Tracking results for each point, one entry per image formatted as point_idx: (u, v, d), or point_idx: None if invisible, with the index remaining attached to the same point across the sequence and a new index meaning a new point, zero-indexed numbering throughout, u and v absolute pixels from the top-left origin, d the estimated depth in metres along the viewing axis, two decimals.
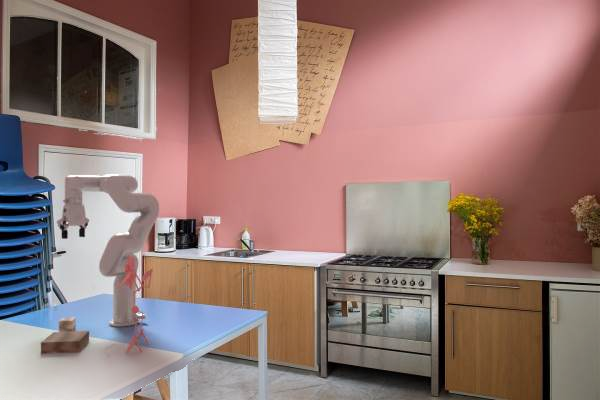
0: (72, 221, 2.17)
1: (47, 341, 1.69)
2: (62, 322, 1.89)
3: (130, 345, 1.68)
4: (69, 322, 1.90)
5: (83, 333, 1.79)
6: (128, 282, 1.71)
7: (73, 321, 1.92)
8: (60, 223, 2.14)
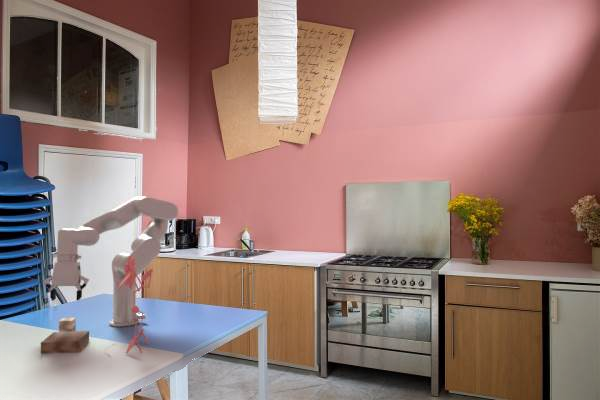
0: None
1: (47, 341, 1.69)
2: (62, 322, 1.89)
3: (130, 345, 1.68)
4: (69, 322, 1.90)
5: (83, 333, 1.79)
6: (128, 282, 1.71)
7: (73, 321, 1.92)
8: None
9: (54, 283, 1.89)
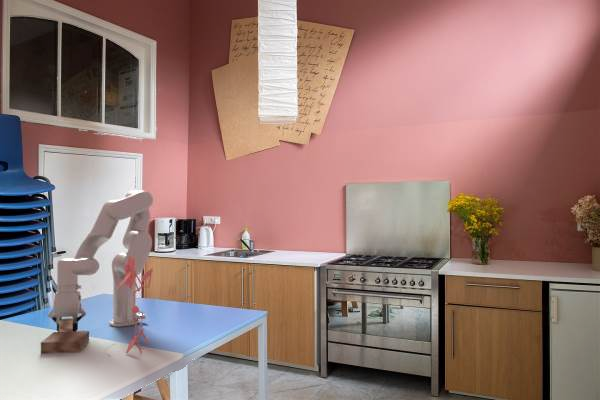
0: None
1: (47, 341, 1.69)
2: (62, 322, 1.89)
3: (130, 345, 1.68)
4: (69, 322, 1.90)
5: (83, 333, 1.79)
6: (128, 282, 1.71)
7: (73, 321, 1.92)
8: None
9: (55, 314, 1.89)
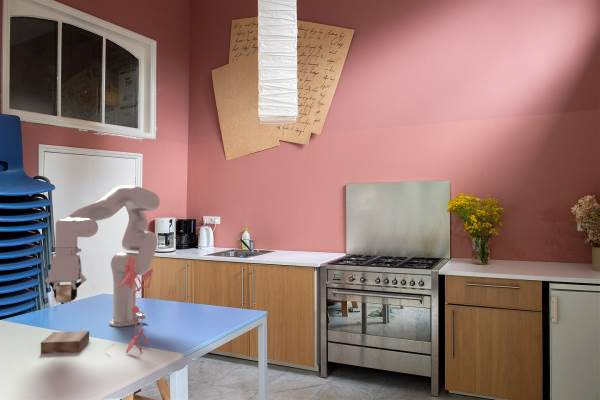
0: None
1: (47, 341, 1.69)
2: (60, 287, 1.74)
3: (130, 345, 1.68)
4: (67, 288, 1.74)
5: (83, 333, 1.79)
6: (128, 282, 1.71)
7: None
8: None
9: (52, 279, 1.74)
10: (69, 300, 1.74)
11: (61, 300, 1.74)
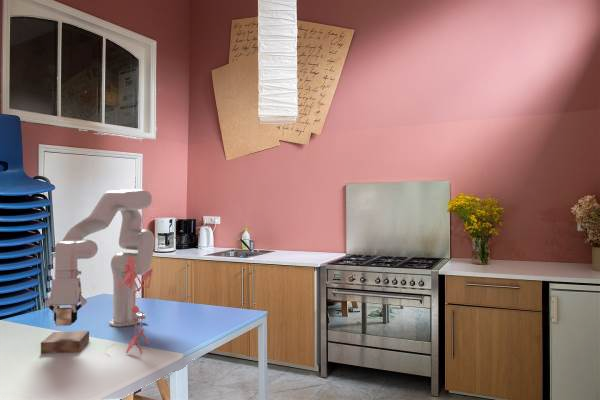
0: None
1: (47, 341, 1.69)
2: (60, 311, 1.72)
3: (130, 345, 1.68)
4: (67, 311, 1.72)
5: (83, 333, 1.79)
6: (128, 282, 1.71)
7: (72, 310, 1.74)
8: None
9: (52, 302, 1.72)
10: (69, 323, 1.73)
11: (61, 323, 1.72)
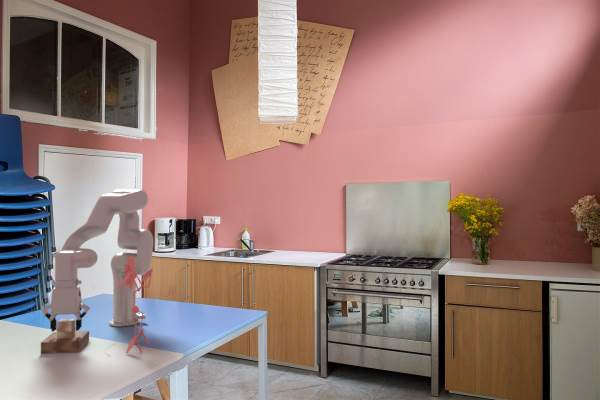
0: None
1: (47, 341, 1.69)
2: (60, 324, 1.72)
3: (130, 345, 1.68)
4: (68, 324, 1.73)
5: (83, 333, 1.79)
6: (128, 282, 1.71)
7: (72, 323, 1.75)
8: None
9: (52, 312, 1.72)
10: (70, 336, 1.73)
11: (62, 336, 1.72)
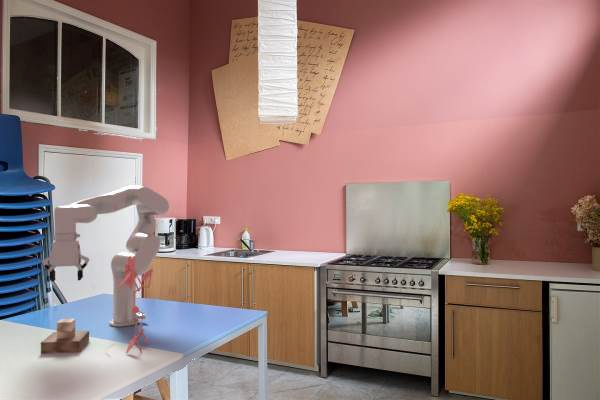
0: None
1: (47, 341, 1.69)
2: (60, 324, 1.72)
3: (130, 345, 1.68)
4: (68, 324, 1.73)
5: (83, 333, 1.79)
6: (128, 282, 1.71)
7: (72, 323, 1.75)
8: None
9: (53, 263, 1.80)
10: (70, 336, 1.73)
11: (62, 336, 1.72)
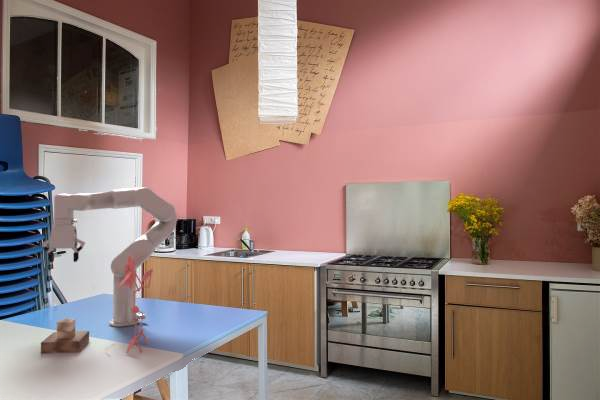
0: None
1: (47, 341, 1.69)
2: (60, 324, 1.72)
3: (130, 345, 1.68)
4: (68, 324, 1.73)
5: (83, 333, 1.79)
6: (128, 282, 1.71)
7: (72, 323, 1.75)
8: None
9: (52, 246, 1.99)
10: (70, 336, 1.73)
11: (62, 336, 1.72)
